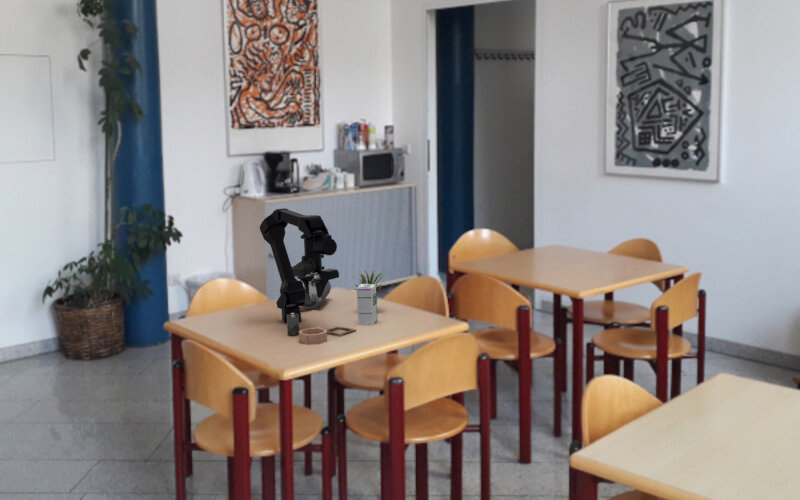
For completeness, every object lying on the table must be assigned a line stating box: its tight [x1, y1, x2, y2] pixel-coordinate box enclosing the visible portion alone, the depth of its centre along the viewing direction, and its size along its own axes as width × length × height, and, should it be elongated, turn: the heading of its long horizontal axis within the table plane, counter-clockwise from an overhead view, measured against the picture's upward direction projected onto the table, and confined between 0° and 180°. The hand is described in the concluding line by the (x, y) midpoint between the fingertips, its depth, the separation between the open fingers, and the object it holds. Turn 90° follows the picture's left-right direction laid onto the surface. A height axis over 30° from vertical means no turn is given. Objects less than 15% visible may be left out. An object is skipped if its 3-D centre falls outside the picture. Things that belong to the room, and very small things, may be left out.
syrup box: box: [356, 283, 378, 326], centre depth 319 cm, size 6×6×14 cm
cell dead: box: [286, 313, 300, 337], centre depth 304 cm, size 4×4×8 cm
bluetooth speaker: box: [300, 276, 332, 310], centre depth 352 cm, size 23×9×10 cm, turn 172°
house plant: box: [353, 270, 386, 301], centre depth 339 cm, size 14×14×16 cm
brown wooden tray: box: [326, 326, 357, 338], centre depth 307 cm, size 8×8×2 cm
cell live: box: [308, 277, 321, 301], centre depth 311 cm, size 4×4×8 cm
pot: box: [298, 327, 328, 345], centre depth 297 cm, size 9×9×4 cm
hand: (314, 297), depth 311 cm, fingers closed on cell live, 4 cm apart
